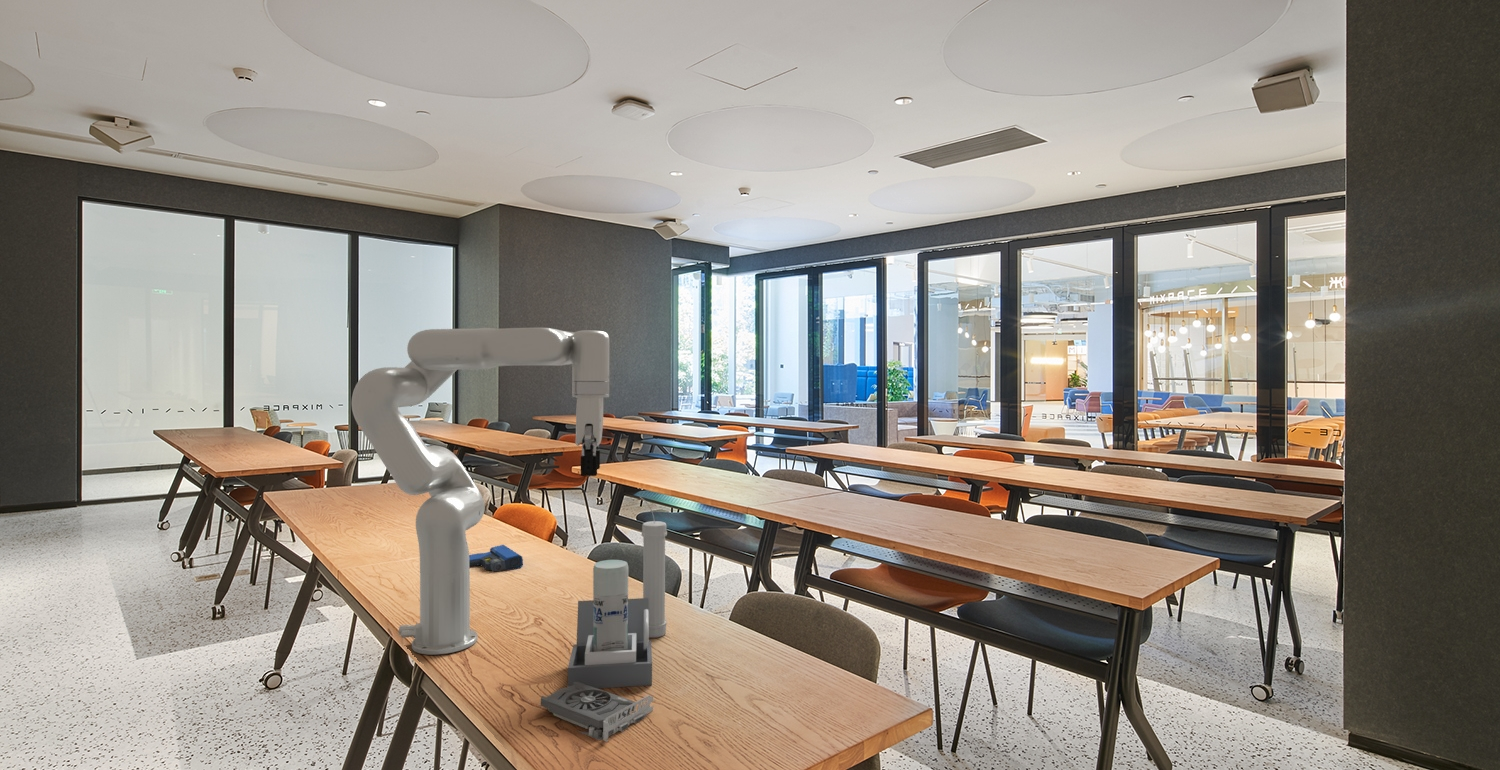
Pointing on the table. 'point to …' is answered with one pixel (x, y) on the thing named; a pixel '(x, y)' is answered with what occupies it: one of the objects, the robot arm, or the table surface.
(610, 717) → the graphics card
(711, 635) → the table surface
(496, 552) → the stun gun
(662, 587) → the pipe
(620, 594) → the spray paint can
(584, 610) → the case
